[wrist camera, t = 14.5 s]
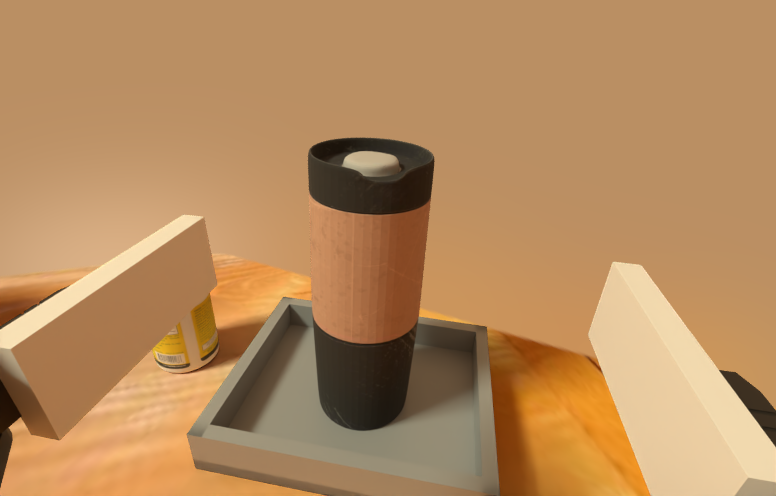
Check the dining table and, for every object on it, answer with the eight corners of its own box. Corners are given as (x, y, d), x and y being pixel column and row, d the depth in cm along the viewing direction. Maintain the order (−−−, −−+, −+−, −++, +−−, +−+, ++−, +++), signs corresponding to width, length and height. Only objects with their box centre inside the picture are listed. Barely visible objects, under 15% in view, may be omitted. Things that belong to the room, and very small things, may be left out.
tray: (480, 355, 39) (486, 326, 38) (489, 529, 25) (500, 496, 24) (285, 324, 42) (283, 296, 40) (195, 468, 28) (186, 434, 26)
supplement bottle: (211, 327, 41) (195, 241, 36) (227, 360, 37) (211, 268, 32) (150, 347, 38) (125, 256, 33) (161, 384, 34) (134, 287, 29)
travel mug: (354, 349, 38) (359, 131, 28) (426, 386, 34) (458, 151, 25) (295, 402, 32) (277, 151, 23) (374, 453, 28) (390, 181, 19)
